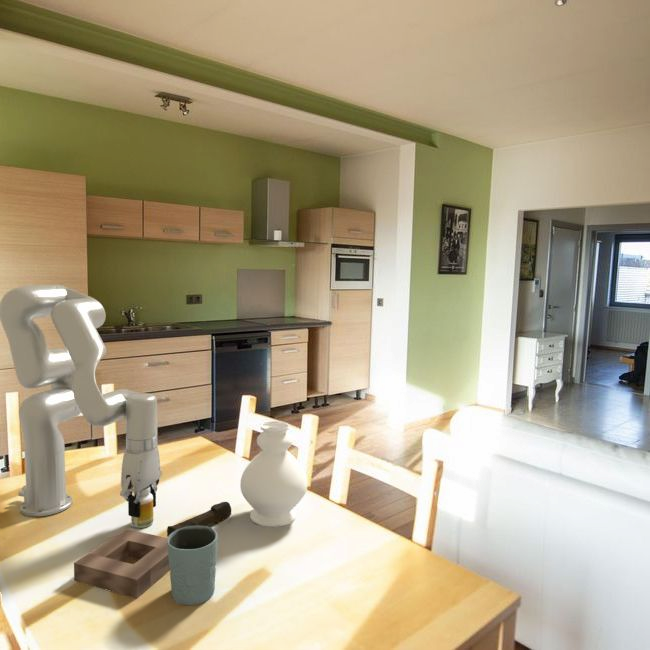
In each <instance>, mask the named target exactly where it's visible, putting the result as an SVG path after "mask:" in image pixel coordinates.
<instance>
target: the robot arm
mask: <svg viewBox="0 0 650 650" xmlns="http://www.w3.org/2000/svg"><path fill="white" fill-rule="evenodd" d="M106 315H107V314H106V310H105V308H104V306H103V305H102V304H101V302H100V301H98V300H97V299H96V298H94V297H92V296H89V295H87V294H85V293H82V292H79V291H78V290H76V289H74V288H70V287H67V286H66V285H62V284H61V285H60V284H43V285H41V284H39V285H38V284H37V285H35V284H34V285H23V286H18V287H15V288H12V289H10V290H9V291H7V292H6V293H5V294H4V295H3V296H2V298H1V300H0V323H1V326H2V328H3V330H4V333H5V335H6V338H7V340H8V344H9V350H10V354H11V358H12V362H13V367H14V371H15V375H16V378H17V381H18V383H19V384H20V386H22V387H23V388H25V389H29V390H30V389H32V390H33V389H38V388H42V387H46V386H50V388H51V389H47V390H44V391H40V392H38V393H35V394H32V395H30V396H28V397H26V398H25V399H24V400H23V401H22V402H21V403H20V406H19V409H18V419H19V422H20V426H21V430H22V436H23V445H24V465H25V468H24V469H25V485H24V486H23V487H22V488H21V490H19V491H18V492H17V495H18V496H19V497H23V500H24V501H23V502H22V503H21V504H20V507H19V508H20V514H23V515H24V516H27V517H45V516H50V515H51V516H52V515H54V514H55V515H56V514H58V513H60V512H63V511H65V510H66V509H67V510H68V509H69V508H70V507H71V506H72V504H73V496H71V495H70V494H68V493H67V488H66V458H65V457H66V455H65V453H66V452H65V451H66V450H65V449H66V448H65V440H64V436H63V434H62V432H61V431H60V430H59V427H58V425H60V424H62V423H65V422H66V421H70V420H72V419H74V418H77V417H78V416H79V415H81V414H82V416H83V417H84V419H85V420H86V421H87V422H88V423H89V424H90V425H91V426H94V427H97V428H98V427H100V428H102V427H105V426H109V425H111V424H113V423H115V422H118V421H122V420H124V419H125V450H124V452H123V456H122V464H121V473H120V474H121V476H120V483H121V484H120V486H121V491H120V493H119V495H120V497H122V498H124V499H125V500H126V502H127V503H128V504H127V505H128V506H127V507H128V508H127V510H128V516H129V517H131V516H132V517H137V518H138V517H140V502H138V500H139V495H140V490H142V489H143V488H145V487H147V486H150V493H151V494H152V495H153V508H155V507H156V506H157V497H156V495H157V491H158V484H159V483H160V480H161V478H162V475H163V472H162V471H161V461H160V460H161V459H160V451H159V450H160V449H159V445H158V398H157V396H155V395H154V394H151V393H148V392H147V393H146V392H143V393H141V392H140V393H139V392H137V391H133V390H130V389H127V388H119V389H116V390H113V391H110V392H106V393H102V392H101V390H100V388H99V387H98V383H97V379H96V369H97V366H98V365H99V363H100V362H101V360H102V359H103V358H104V356H106V354H107V347H106V345H105V343H104V341H103V339H102V337H101V336H100V334H99V332H98V330H97V329H98V328H100V327H102V326H103V325H104V323H105V321H106V318H107V317H106ZM46 317H47V318H49V317H50V318H51V321H52V323H53V325H54V327H55V329H56V332H57V333H58V335H59V338H60V339H61V341H62V343H63V345H64V347H65V349H63V348H56V347H55V348H48V344H47V343H46V342H47V341H46V337H45V334H44V332H43V330H42V329H41V328H40V327H41V326H39V325H38V324H37V323H36V322H35V321H34V320H35V319H36V318H37V319H38V318H46ZM134 492H135V497H134V496H133V495H134V494H133V493H134Z"/></svg>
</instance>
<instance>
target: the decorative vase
mask: <svg viewBox="0 0 650 650" xmlns="http://www.w3.org/2000/svg"><path fill="white" fill-rule="evenodd" d="M260 430H261V431H262V432H261V433H260V434H259V435H258V436H257V438H256V444H257V446H258V447H259V448H260V449H261V451H260V452H259V453H258V454H257V455H256V456H254V457H253V458H252V459H251V460H250V462H249V463H248V464H247V466H246V467H245V469H244V471H243V472H242V475H241V478H240V492H241V494H242V496H243V498H244V499H245V501H247V503H248V504H249V505H250V506H251V508H252V510H251V511H250V512H249V513H250V514H249V517H250V520H251V522H253V523H255V524H256V525H258V526H261V527H267V528H268V527H269V528H276V527H278V528H279V527H283V525H284V526H287V525H289V524H292V523H293V522H294V521H296V519H297V518H298V514H297V513H298V512H297V510H296V509H295V507H296V506H297V505H298V504H299V503H300V501H301V500H302V499H303V498H304V497H305V495H306V493H307V490H308V477H307V473H306V471H305V469H304V468H303V466H302V465H301V463H300V462H299V460H297V458H296V457H295V456H294V455H293V454H292V453H291V452H289V450H288V449H289V448H290V447H291V446H292V445H293V441H294V440H293V436H292V434H291V433H289V432H288V431H289V430H290V424H289V423H288V422H285V421H280V420H279V421H277V420H274V421H273V420H272V421H267V422H265V421H264V422H263V423H261V424H260Z"/></svg>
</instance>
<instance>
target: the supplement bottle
mask: <svg viewBox="0 0 650 650" xmlns="http://www.w3.org/2000/svg"><path fill="white" fill-rule="evenodd" d="M132 495H133V496H134V497H135V492H133V494H132ZM138 502H140V517H138V518H137V517H132V516H130V517H131V520H130V521H131V526H132V527H133V528H137V529H141V528H142V529H143V528H148V527H150V526H151V525H153V523H154V507H153V495H152V494H151V493H150V486H147V487H145V488H143V489H142V490H140V495H139V500H138Z"/></svg>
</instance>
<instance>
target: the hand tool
mask: <svg viewBox="0 0 650 650" xmlns="http://www.w3.org/2000/svg"><path fill="white" fill-rule="evenodd" d="M231 515H232V506H231V505H230V503H229V502H228V501H222V502H220V503H216V504H213V505H212V506H211V507H210V509H209V510H208V511H206V512H203V513H201V514H198V515H196V516H193V517H191V518H189V519H186V520H184V521H181V522H178V523H177V524H174V525H168V526H167V528H166V534H167V535H166V538H168V536H169V535H170V534H171V533H172V532H174V531H176V530H178V529H181V528H184V527H188V526H206V527H209V526H211V525H213V524H215V525H219V524H220V523H222V522H224V521H226V520H227V519H228V518H229V517H230V516H231Z"/></svg>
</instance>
